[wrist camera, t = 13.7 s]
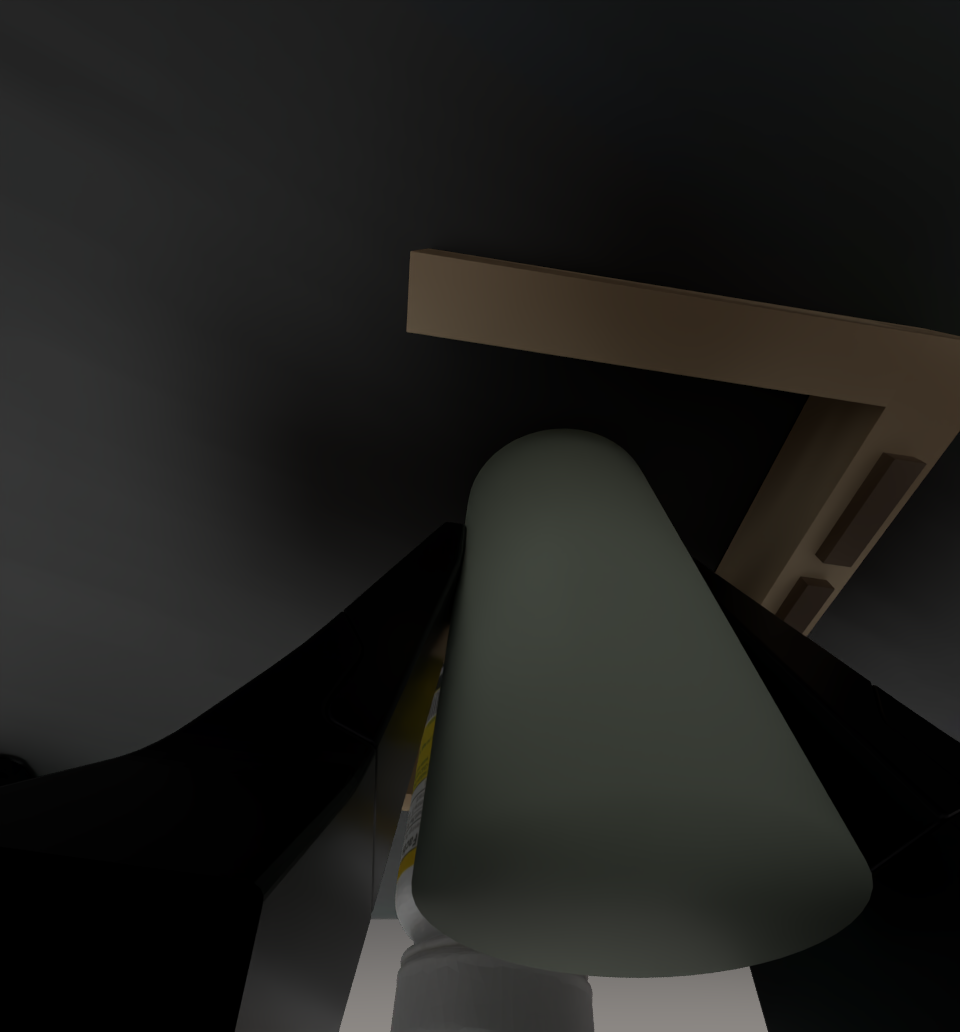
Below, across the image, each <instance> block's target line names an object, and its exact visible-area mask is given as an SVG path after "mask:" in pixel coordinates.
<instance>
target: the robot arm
mask: <svg viewBox="0 0 960 1032" xmlns="http://www.w3.org/2000/svg"><path fill="white" fill-rule="evenodd" d="M465 535H466V526H465V525H463V524H458V523H451V522H446V523H444V524H443V525H442V526H440V527H439V528H438V529H437V530H436V531H435V532H433V533H432V534H431V535H430V536H429V537H428V538H426V539H425V540H424V541H423V542H422V543H421V544H420V545H418V546H417V547H416V548H415V549H414V550H413V551H411V552H410V553H409V554H408V555H407V556H406V557H404V558H403V559H402V560H401V561H400V562H399V563H398V564H396V565H395V566H394V567H393V568H392V569H391V570H389V571H388V572H387V573H386V574H385V575H384V576H383V577H381V578H380V579H379V580H378V581H377V582H376V583H374V584H373V585H372V586H371V587H370V588H369V589H367V590H366V591H365V592H364V593H363V594H362V595H361V596H359V597H358V598H357V599H356V600H355V601H354V602H352V603H351V604H350V605H349V606H348V607H347V608H345V610H344V612H341V613H339V614H338V615H337V616H336V617H335V618H334V619H332V620H331V621H330V622H329V623H328V624H327V625H325V626H324V627H323V628H322V629H320V630H319V631H318V632H317V633H316V634H314V635H313V636H312V637H311V638H309V639H308V640H307V641H306V642H304V643H303V644H302V645H301V646H299V647H298V648H296V649H295V650H294V651H292V652H291V653H289V654H288V655H287V656H285V657H284V658H283V659H281V660H280V661H278V662H277V663H276V664H274V665H273V666H271V667H270V668H269V669H267V670H266V671H264V672H263V673H261V674H260V675H258V676H257V677H255V678H254V679H253V680H251V681H250V682H248V683H247V684H245V685H244V686H242V687H241V688H239V689H238V690H236V691H235V692H234V693H232V694H231V695H229V696H228V697H226V698H225V699H223V700H222V701H220V702H219V703H218V704H216V705H215V706H213V707H212V708H210V709H209V710H207V711H206V712H204V713H203V714H202V715H200V716H199V717H197V718H196V719H194V720H193V721H191V722H190V723H188V724H187V725H185V726H183V727H182V728H180V729H179V730H177V731H176V732H174V733H172V734H170V735H168V736H167V737H165V738H163V739H161V740H159V741H157V742H155V743H153V744H151V745H149V746H147V747H144V748H142V749H140V750H137V751H135V752H132V753H129V754H126V755H123V756H120V757H116V758H113V759H109V760H105V761H101V762H97V763H93V764H89V765H85V766H81V767H77V768H73V769H68V770H64V771H60V772H56V773H52V774H48V775H44V776H40V777H36V778H32V779H31V778H30V777H29V775H28V774H27V772H26V771H25V770H24V768H23V767H22V766H21V765H20V764H18V763H16V762H14V761H11V760H6V759H0V1032H339V1028H340V1025H341V1021H342V1018H343V1014H344V1011H345V1007H346V1004H347V1000H348V997H349V993H350V990H351V986H352V982H353V979H354V976H355V972H356V969H357V965H358V962H359V958H360V954H361V951H362V948H363V944H364V940H365V937H366V933H367V930H368V926H369V923H370V919H371V913H372V911H373V909H374V905H375V901H376V898H377V894H378V891H379V887H380V884H381V880H382V877H383V873H384V870H385V866H386V863H387V859H388V856H389V852H390V849H391V845H392V842H393V838H394V835H395V831H396V828H397V824H398V820H399V817H400V813H401V810H402V806H403V803H404V799H405V796H406V792H407V789H408V785H409V782H410V778H411V775H412V771H413V768H414V764H415V761H416V757H417V754H418V750H419V747H420V743H421V740H422V736H423V732H424V729H425V725H426V722H427V718H428V715H429V711H430V708H431V704H432V701H433V697H434V694H435V690H436V687H437V683H438V680H439V676H440V673H441V669H442V666H443V662H444V659H445V653H446V647H447V640H448V633H449V626H450V620H451V613H452V606H453V601H454V596H455V592H456V587H457V583H458V579H459V575H460V569H461V563H462V557H463V550H464V542H465ZM692 560H693V561H694V563H695V565H696V566H697V568H698V570H699V572H700V573H701V575H702V577H703V579H704V580H705V582H706V584H707V586H708V587H709V589H710V591H711V593H712V594H713V596H714V598H715V599H716V601H717V603H718V605H719V606H720V608H721V610H722V612H723V613H724V615H725V617H726V619H727V620H728V622H729V624H730V626H731V627H732V629H733V631H734V632H735V634H736V636H737V638H738V639H739V641H740V643H741V645H742V646H743V648H744V650H745V652H746V653H747V655H748V657H749V659H750V660H751V662H752V664H753V665H754V667H755V669H756V671H757V672H758V674H759V676H760V678H761V679H762V681H763V683H764V685H765V686H766V688H767V690H768V692H769V693H770V695H771V697H772V698H773V700H774V702H775V704H776V705H777V707H778V709H779V711H780V712H781V714H782V716H783V718H784V719H785V721H786V723H787V725H788V726H789V728H790V730H791V731H792V733H793V735H794V737H795V738H796V740H797V742H798V744H799V745H800V747H801V749H802V751H803V752H804V754H805V756H806V757H807V759H808V761H809V763H810V764H811V766H812V768H813V770H814V771H815V773H816V775H817V777H818V778H819V780H820V782H821V784H822V785H823V787H824V789H825V790H826V792H827V794H828V796H829V797H830V799H831V801H832V803H833V804H834V806H835V808H836V810H837V811H838V813H839V815H840V817H841V818H842V820H843V822H844V823H845V825H846V827H847V829H848V830H849V832H850V834H851V836H852V837H853V839H854V841H855V843H856V844H857V846H858V848H859V850H860V851H861V853H862V855H863V856H864V858H865V860H866V862H867V864H868V866H869V869H870V871H871V873H872V881H873V889H872V893H871V896H870V900H869V902H868V903H867V905H866V906H865V908H864V910H863V911H862V912H861V914H860V915H859V916H858V917H857V918H856V919H855V920H854V921H853V922H852V923H851V924H849V925H848V926H846V927H845V928H844V929H842V930H841V931H840V932H838V933H837V934H835V935H833V936H832V937H830V938H828V939H826V940H824V941H823V942H821V943H819V944H816V945H814V946H812V947H809V948H807V949H805V950H803V951H800V952H797V953H794V954H791V955H788V956H786V957H783V958H780V959H776V960H772V961H769V962H765V963H761V964H757V965H753V966H750V970H751V972H752V977H753V980H754V983H755V987H756V991H757V994H758V998H759V1001H760V1005H761V1008H762V1012H763V1015H764V1018H765V1023H766V1026H767V1030H768V1032H960V742H958V741H957V740H955V739H953V738H952V737H950V736H949V735H947V734H946V733H944V732H943V731H941V730H940V729H938V728H937V727H935V726H934V725H932V724H931V723H929V722H928V721H927V720H925V719H924V718H922V717H921V716H919V715H918V714H916V713H915V712H913V711H912V710H910V709H909V708H908V707H906V706H905V705H903V704H902V703H900V702H899V701H897V700H896V699H895V698H893V697H892V696H890V695H889V694H887V693H886V692H885V691H883V690H882V689H880V688H879V687H877V686H875V685H873V686H872V685H871V682H870V681H869V680H867V679H866V678H864V677H863V676H862V675H860V674H859V673H857V672H856V671H854V670H853V669H852V668H850V667H849V666H847V665H846V664H844V663H843V662H842V661H840V660H839V659H837V658H836V657H834V656H833V655H832V654H830V653H829V652H827V651H826V650H824V649H823V648H822V647H820V646H819V645H817V644H816V643H814V642H813V641H812V640H810V639H809V638H807V637H806V636H804V635H803V634H802V633H800V632H799V631H797V630H796V629H794V628H793V627H792V626H790V625H789V624H787V623H786V622H784V621H783V620H782V619H780V618H779V617H777V616H776V615H774V614H773V613H772V612H770V611H769V610H767V609H766V608H764V607H763V606H762V605H760V604H759V603H757V602H756V601H754V600H753V599H752V598H750V597H749V596H747V595H746V594H744V593H743V592H742V591H740V590H739V589H737V588H736V587H735V586H733V585H732V584H730V583H729V582H727V581H726V580H725V579H723V578H722V577H720V576H719V575H717V574H716V573H715V572H713V571H712V570H710V569H709V568H707V567H706V566H705V565H703V564H702V563H700V562H699V561H697V560H696V559H694V558H692Z"/></svg>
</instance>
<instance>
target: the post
mask: <svg viewBox="0 0 960 1032" xmlns="http://www.w3.org/2000/svg"><path fill="white" fill-rule="evenodd" d="M465 526H466V535H465V542H464V550H463V557H462V563H461V569H460V575H459V579H458V583H457V587H456V592H455V596H454V601H453V606H452V613H451V620H450V626H449V633H448V640H447V647H446V653H445V660H444V667H443V673H442V680H441V687H440V694H439V700H438V707H437V714H436V720H435V727H434V734H433V740H432V747H431V754H430V761H429V767H428V774H427V781H426V787H425V794H424V801H423V808H422V814H421V821H420V828H419V834H418V841H417V848H416V855H415V861H414V868H413V875H412V881H411V885H412V896H413V899H414V902H415V905H416V906H417V908H418V910H419V911H420V913H421V914H422V916H423V917H424V918H425V919H426V920H427V921H428V922H429V923H430V924H431V925H432V926H434V927H435V928H436V929H438V930H439V931H440V932H442V933H443V934H444V935H446V936H448V937H449V938H451V939H453V940H455V941H456V942H458V943H460V944H462V945H464V946H467V947H469V948H471V949H473V950H476V951H478V952H481V953H483V954H486V955H489V956H492V957H495V958H498V959H501V960H505V961H508V962H512V963H516V964H520V965H524V966H528V967H533V968H538V969H544V970H549V971H555V972H562V973H570V974H578V975H589V976H603V977H626V978H628V977H629V978H631V977H632V978H649V977H673V976H686V975H697V974H705V973H714V972H720V971H726V970H733V969H738V968H743V967H748V966H753V965H757V964H761V963H765V962H769V961H772V960H776V959H780V958H783V957H786V956H788V955H791V954H794V953H797V952H800V951H803V950H805V949H807V948H809V947H812V946H814V945H816V944H819V943H821V942H823V941H824V940H826V939H828V938H830V937H832V936H833V935H835V934H837V933H838V932H840V931H841V930H842V929H844V928H845V927H846V926H848V925H849V924H851V923H852V922H853V921H854V920H855V919H856V918H857V917H858V916H859V915H860V914H861V912H862V911H863V910H864V908H865V906H866V905H867V903H868V902H869V900H870V896H871V893H872V889H873V881H872V873H871V871H870V869H869V866H868V864H867V862H866V860H865V858H864V856H863V855H862V853H861V851H860V850H859V848H858V846H857V844H856V843H855V841H854V839H853V837H852V836H851V834H850V832H849V830H848V829H847V827H846V825H845V823H844V822H843V820H842V818H841V817H840V815H839V813H838V811H837V810H836V808H835V806H834V804H833V803H832V801H831V799H830V797H829V796H828V794H827V792H826V790H825V789H824V787H823V785H822V784H821V782H820V780H819V778H818V777H817V775H816V773H815V771H814V770H813V768H812V766H811V764H810V763H809V761H808V759H807V757H806V756H805V754H804V752H803V751H802V749H801V747H800V745H799V744H798V742H797V740H796V738H795V737H794V735H793V733H792V731H791V730H790V728H789V726H788V725H787V723H786V721H785V719H784V718H783V716H782V714H781V712H780V711H779V709H778V707H777V705H776V704H775V702H774V700H773V698H772V697H771V695H770V693H769V692H768V690H767V688H766V686H765V685H764V683H763V681H762V679H761V678H760V676H759V674H758V672H757V671H756V669H755V667H754V665H753V664H752V662H751V660H750V659H749V657H748V655H747V653H746V652H745V650H744V648H743V646H742V645H741V643H740V641H739V639H738V638H737V636H736V634H735V632H734V631H733V629H732V627H731V626H730V624H729V622H728V620H727V619H726V617H725V615H724V613H723V612H722V610H721V608H720V606H719V605H718V603H717V601H716V599H715V598H714V596H713V594H712V593H711V591H710V589H709V587H708V586H707V584H706V582H705V580H704V579H703V577H702V575H701V573H700V572H699V570H698V568H697V566H696V565H695V563H694V561H693V560H692V558H691V556H690V554H689V553H688V551H687V549H686V547H685V546H684V544H683V542H682V540H681V539H680V537H679V535H678V533H677V532H676V530H675V528H674V527H673V525H672V523H671V521H670V520H669V518H668V516H667V514H666V513H665V511H664V509H663V507H662V506H661V504H660V502H659V501H658V499H657V497H656V495H655V494H654V492H653V490H652V488H651V487H650V485H649V483H648V481H647V480H646V478H645V476H644V474H643V473H642V471H641V469H640V468H639V466H638V465H637V463H636V462H635V460H634V459H633V458H632V457H631V456H630V455H629V454H628V453H627V452H626V451H625V450H624V449H623V448H622V447H620V446H619V445H617V444H616V443H615V442H613V441H611V440H609V439H607V438H605V437H603V436H601V435H598V434H595V433H592V432H588V431H583V430H578V429H567V428H564V429H549V430H543V431H538V432H535V433H531V434H528V435H525V436H523V437H521V438H518V439H516V440H514V441H512V442H511V443H509V444H507V445H506V446H504V447H503V448H501V449H500V450H499V451H498V452H496V453H495V454H494V455H493V456H492V457H491V458H490V459H489V460H488V461H487V462H486V463H485V465H484V466H483V467H482V469H481V470H480V471H479V473H478V475H477V477H476V478H475V480H474V483H473V485H472V488H471V491H470V495H469V499H468V506H467V512H466V519H465Z"/></svg>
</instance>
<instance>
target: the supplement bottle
mask: <svg viewBox="0 0 960 1032" xmlns="http://www.w3.org/2000/svg"><path fill="white" fill-rule="evenodd" d="M443 667H444V666H443ZM443 667H442V669H441V673H440V676H439V680H438V683H437V687H436V690H435V694H434V697H433V701H432V704H431V708H430V711H429V715H428V718H427V722H426V725H425V729H424V732H423V736H422V741H421V746H420V752H419V758H418V763H417V768H416V775H415V781H414V787H413V792H412V798H411V804H410V810H409V815H408V821H407V827H406V833H405V839H404V844H403V850H402V855H401V862H400V867H399V872H398V878H397V886H396V896H395V905H396V913H397V917H398V920H399V922H400V924H401V926H402V928H403V929H404V931H405V932H406V934H407V935H408V936H409V937H410V938H411V939H412V940H413V941H414V945H412V946H411V947H409V948H408V949H407V950H406V951H405V952H404V954H403V956H402V958H401V968H400V970H399V972H398V975H397V988H396V995H395V1002H394V1010H393V1018H392V1025H391V1032H594V1022H593V1009H592V989H591V986H590V984H589V983H588V981H587V980H588V975H578V974H570V973H562V972H555V971H549V970H544V969H538V968H533V967H528V966H524V965H520V964H516V963H512V962H508V961H505V960H501V959H498V958H495V957H492V956H489V955H486V954H483V953H481V952H478V951H476V950H473V949H471V948H469V947H467V946H464V945H462V944H460V943H458V942H456V941H455V940H453V939H451V938H449V937H448V936H446V935H444V934H443V933H442V932H440V931H439V930H438V929H436V928H435V927H434V926H432V925H431V924H430V923H429V922H428V921H427V920H426V919H425V918H424V917H423V916H422V914H421V913H420V911H419V910H418V908H417V906H416V905H415V902H414V899H413V896H412V885H411V881H412V875H413V868H414V861H415V855H416V848H417V841H418V834H419V828H420V821H421V814H422V808H423V801H424V794H425V787H426V781H427V774H428V767H429V761H430V754H431V747H432V740H433V734H434V727H435V720H436V714H437V707H438V700H439V694H440V687H441V680H442V673H443Z"/></svg>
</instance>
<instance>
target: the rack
mask: <svg viewBox="0 0 960 1032" xmlns="http://www.w3.org/2000/svg"><path fill="white" fill-rule="evenodd" d="M407 332H411V333H417V334H423V335H430V336H436V337H443V338H449V339H455V340H462V341H468V342H474V343H481V344H487V345H494V346H500V347H506V348H513V349H519V350H526V351H532V352H538V353H545V354H551V355H558V356H564V357H570V358H577V359H583V360H589V361H596V362H602V363H609V364H615V365H621V366H628V367H634V368H641V369H647V370H653V371H660V372H666V373H673V374H679V375H685V376H692V377H698V378H705V379H711V380H717V381H724V382H730V383H736V384H743V385H749V386H756V387H762V388H768V389H775V390H781V391H788V392H794V393H800V394H807V395H810V396H809V398H808V400H807V401H806V403H805V405H804V407H803V409H802V411H801V413H800V415H799V416H798V418H797V420H796V422H795V424H794V426H793V428H792V429H791V431H790V433H789V435H788V437H787V439H786V441H785V443H784V444H783V446H782V448H781V450H780V452H779V454H778V456H777V458H776V459H775V461H774V463H773V465H772V467H771V469H770V471H769V473H768V474H767V476H766V478H765V480H764V482H763V484H762V486H761V488H760V489H759V491H758V493H757V495H756V497H755V499H754V501H753V503H752V504H751V506H750V508H749V510H748V512H747V514H746V516H745V518H744V519H743V521H742V523H741V525H740V527H739V529H738V531H737V532H736V534H735V536H734V538H733V540H732V542H731V544H730V546H729V547H728V549H727V551H726V553H725V555H724V557H723V559H722V561H721V562H720V564H719V566H718V568H717V570H716V572H715V573H716V574H717V575H719V576H720V577H722V578H723V579H725V580H726V581H727V582H729V583H730V584H732V585H733V586H735V587H736V588H737V589H739V590H740V591H742V592H743V593H744V594H746V595H747V596H749V597H750V598H752V599H753V600H754V601H756V602H757V603H759V604H760V605H762V606H763V607H764V608H766V609H767V610H769V611H770V612H772V613H773V614H774V615H776V616H777V617H779V618H780V619H782V620H783V621H784V622H786V623H787V624H789V625H790V626H792V627H793V628H794V629H796V630H797V631H799V632H800V633H802V634H803V635H804V636H807V635H808V634H809V632H810V631H811V630H812V628H813V627H814V626H815V624H816V623H817V622H818V620H819V619H820V618H821V616H822V615H823V614H824V612H825V611H826V610H827V608H828V607H829V606H830V604H831V603H832V602H833V600H834V599H835V598H836V596H837V595H838V593H839V592H840V591H841V589H842V588H843V587H844V585H845V584H846V583H847V581H848V580H849V579H850V577H851V576H852V575H853V573H854V572H855V571H856V569H857V568H858V567H859V565H860V564H861V563H862V561H863V560H864V559H865V557H866V556H867V555H868V553H869V552H870V551H871V549H872V548H873V547H874V545H875V544H876V542H877V541H878V540H879V538H880V537H881V536H882V534H883V533H884V532H885V530H886V529H887V528H888V526H889V525H890V524H891V522H892V521H893V520H894V518H895V517H896V516H897V514H898V513H899V512H900V510H901V509H902V508H903V506H904V505H905V504H906V502H907V501H908V500H909V498H910V497H911V495H912V494H913V493H914V491H915V490H916V489H917V487H918V486H919V485H920V483H921V482H922V481H923V479H924V478H925V477H926V475H927V474H928V473H929V471H930V470H931V469H932V467H933V466H934V465H935V463H936V462H937V461H938V459H939V458H940V457H941V455H942V454H943V453H944V451H945V450H946V449H947V447H948V446H949V444H950V443H951V442H952V440H953V439H954V438H955V436H956V435H957V434H958V432H959V431H960V336H956V335H951V334H947V333H942V332H937V331H933V330H928V329H924V328H918V327H911V326H905V325H899V324H893V323H887V322H880V321H874V320H868V319H862V318H856V317H850V316H843V315H837V314H831V313H825V312H819V311H812V310H806V309H800V308H794V307H788V306H782V305H775V304H769V303H763V302H757V301H751V300H745V299H738V298H732V297H726V296H720V295H714V294H707V293H701V292H695V291H689V290H683V289H677V288H670V287H664V286H658V285H652V284H646V283H639V282H633V281H627V280H621V279H615V278H609V277H602V276H596V275H590V274H584V273H578V272H571V271H565V270H559V269H553V268H547V267H541V266H534V265H528V264H522V263H516V262H510V261H503V260H497V259H491V258H485V257H479V256H473V255H466V254H460V253H454V252H448V251H442V250H435V249H423V250H416V251H410V270H409V291H408V312H407ZM444 660H445V659H444ZM443 663H444V662H443ZM421 741H422V740H421ZM420 746H421V743H420ZM419 752H420V747H419V750H418V754H417V757H416V761H415V764H414V768H413V771H412V775H411V778H410V782H409V785H408V789H407V792H406V796H405V799H404V803H403V806H402V810H403V811H409V810H410V804H411V798H412V792H413V787H414V781H415V775H416V768H417V763H418V758H419Z"/></svg>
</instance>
